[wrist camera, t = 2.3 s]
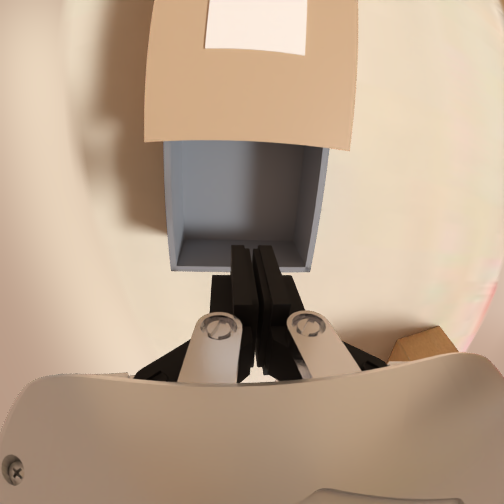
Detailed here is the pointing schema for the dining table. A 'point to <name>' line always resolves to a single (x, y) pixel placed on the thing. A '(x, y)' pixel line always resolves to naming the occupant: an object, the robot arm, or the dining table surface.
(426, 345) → the sandwich container
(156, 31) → the mailer sleeve
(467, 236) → the dining table surface
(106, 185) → the dining table surface
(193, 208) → the tray
